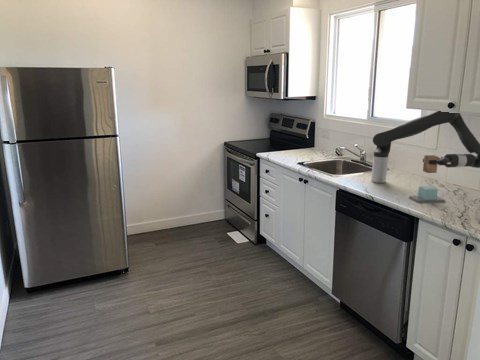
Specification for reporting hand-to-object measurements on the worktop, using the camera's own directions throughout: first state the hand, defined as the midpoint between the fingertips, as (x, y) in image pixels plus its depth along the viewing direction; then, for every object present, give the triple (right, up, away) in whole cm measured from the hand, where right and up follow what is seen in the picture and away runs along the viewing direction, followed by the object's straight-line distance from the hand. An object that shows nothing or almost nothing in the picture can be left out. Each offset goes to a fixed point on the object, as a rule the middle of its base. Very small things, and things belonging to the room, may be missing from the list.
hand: (426, 161), depth 214 cm
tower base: (+3, -22, +5) cm, 22 cm away
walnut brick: (+3, -6, +2) cm, 7 cm away
